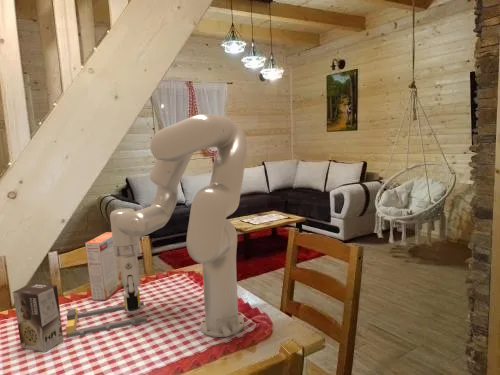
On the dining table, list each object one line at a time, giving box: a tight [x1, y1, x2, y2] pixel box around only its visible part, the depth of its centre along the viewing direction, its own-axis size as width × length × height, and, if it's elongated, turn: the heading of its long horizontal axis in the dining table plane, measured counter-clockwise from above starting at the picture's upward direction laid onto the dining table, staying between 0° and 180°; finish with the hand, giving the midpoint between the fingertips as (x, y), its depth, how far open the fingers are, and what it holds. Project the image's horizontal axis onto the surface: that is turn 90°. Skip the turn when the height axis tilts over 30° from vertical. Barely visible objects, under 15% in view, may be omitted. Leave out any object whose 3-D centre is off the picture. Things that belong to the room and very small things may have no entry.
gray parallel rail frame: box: [65, 300, 148, 339], centre depth 114 cm, size 15×22×1 cm
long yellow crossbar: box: [65, 307, 79, 334], centre depth 110 cm, size 12×2×4 cm, turn 21°
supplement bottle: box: [122, 284, 142, 314], centre depth 115 cm, size 5×5×8 cm
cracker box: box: [84, 231, 124, 301], centre depth 133 cm, size 14×6×21 cm, turn 172°
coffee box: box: [12, 282, 64, 353], centre depth 100 cm, size 9×6×16 cm
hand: (132, 304), depth 115 cm, fingers closed on supplement bottle, 4 cm apart
